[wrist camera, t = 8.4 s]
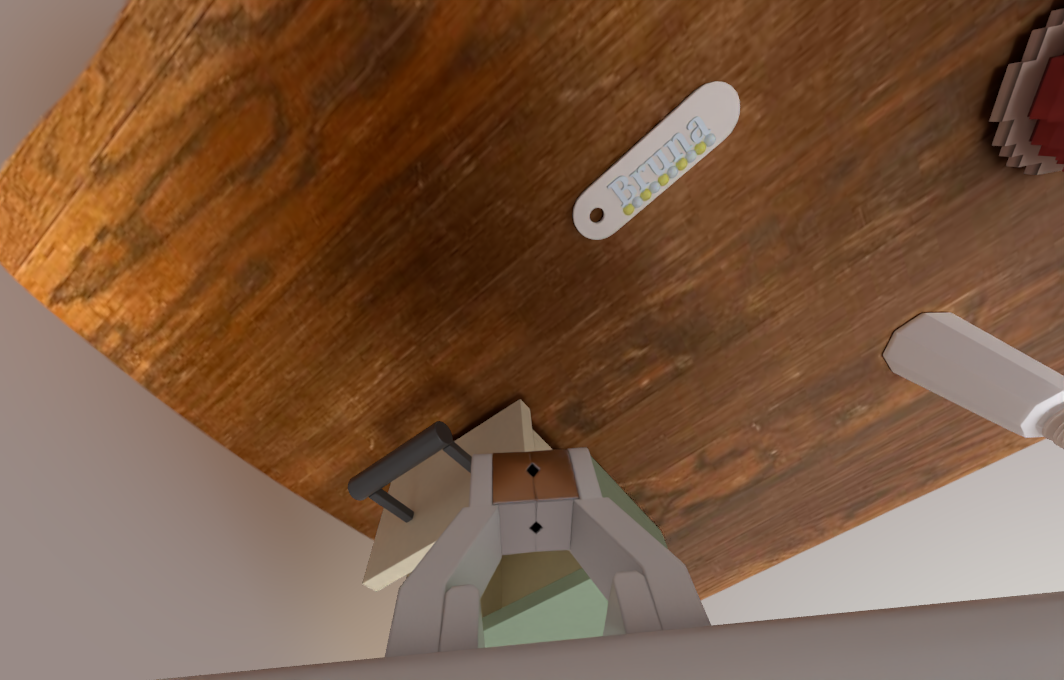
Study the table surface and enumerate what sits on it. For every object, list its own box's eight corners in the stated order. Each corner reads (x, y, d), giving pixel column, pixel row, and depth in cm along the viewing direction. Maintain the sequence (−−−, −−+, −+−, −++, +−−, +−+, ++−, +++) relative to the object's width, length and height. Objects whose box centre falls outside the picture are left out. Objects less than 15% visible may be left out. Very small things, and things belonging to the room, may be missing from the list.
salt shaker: (951, 357, 31) (1155, 464, 21) (879, 381, 32) (1047, 496, 22) (961, 297, 28) (1199, 389, 19) (883, 325, 29) (1074, 428, 19)
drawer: (342, 446, 29) (295, 547, 22) (476, 353, 26) (470, 436, 19) (492, 554, 37) (492, 655, 30) (609, 491, 34) (639, 586, 27)
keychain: (595, 251, 24) (563, 213, 23) (593, 248, 24) (562, 210, 23) (753, 117, 21) (726, 65, 20) (746, 117, 22) (720, 67, 20)
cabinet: (454, 524, 36) (441, 651, 27) (584, 448, 33) (616, 566, 24) (543, 588, 42) (556, 710, 33) (660, 530, 39) (707, 648, 30)
